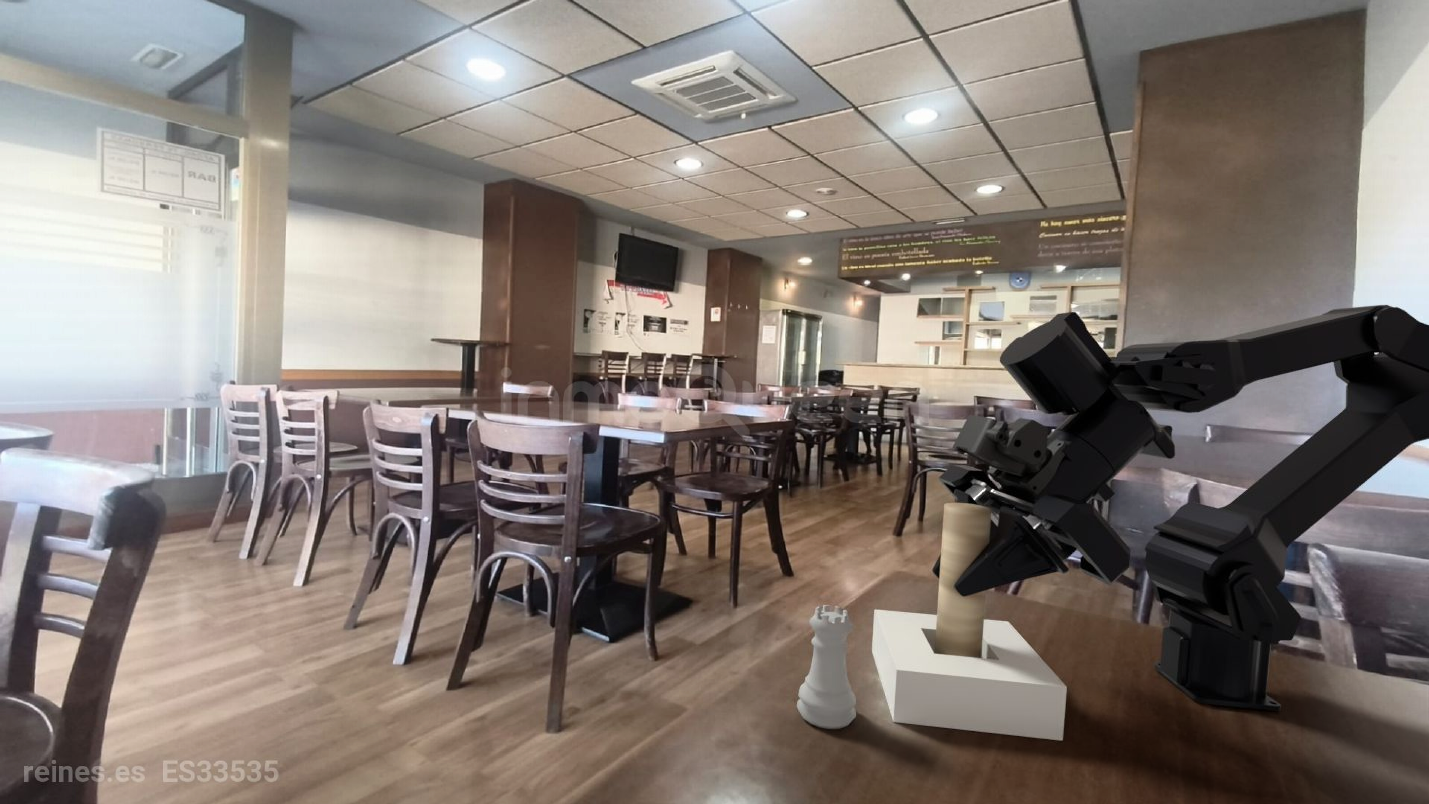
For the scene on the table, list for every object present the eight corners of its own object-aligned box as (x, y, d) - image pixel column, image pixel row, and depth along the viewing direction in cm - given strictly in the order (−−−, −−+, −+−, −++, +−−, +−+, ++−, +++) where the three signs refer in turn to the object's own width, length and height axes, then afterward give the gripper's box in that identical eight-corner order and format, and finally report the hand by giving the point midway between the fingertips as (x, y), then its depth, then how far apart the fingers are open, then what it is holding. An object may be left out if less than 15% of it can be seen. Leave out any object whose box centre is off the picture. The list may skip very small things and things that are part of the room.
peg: (960, 650, 54) (970, 502, 53) (990, 669, 50) (1001, 511, 50) (925, 654, 53) (935, 503, 52) (953, 674, 49) (964, 513, 49)
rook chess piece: (861, 733, 45) (868, 625, 44) (799, 730, 45) (805, 621, 44) (849, 700, 49) (855, 602, 49) (793, 697, 49) (798, 598, 49)
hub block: (1005, 664, 57) (1008, 621, 57) (1062, 740, 45) (1066, 687, 45) (871, 651, 58) (874, 609, 58) (893, 721, 46) (896, 669, 46)
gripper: (964, 381, 60) (848, 491, 59) (1103, 387, 41) (935, 546, 41) (1035, 464, 61) (921, 572, 61) (1201, 506, 43) (1039, 662, 42)
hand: (946, 583), depth 51 cm, fingers closed on peg, 3 cm apart
